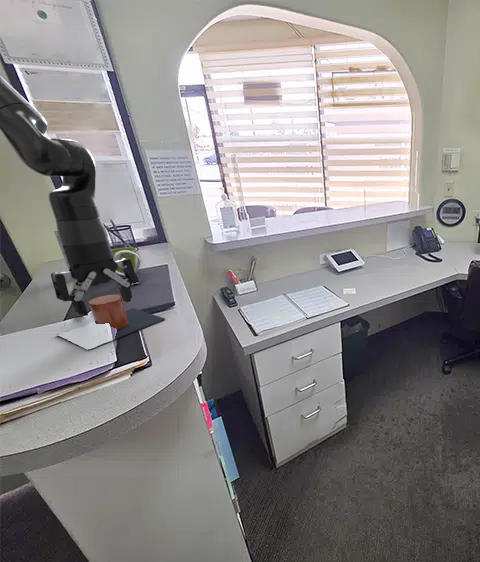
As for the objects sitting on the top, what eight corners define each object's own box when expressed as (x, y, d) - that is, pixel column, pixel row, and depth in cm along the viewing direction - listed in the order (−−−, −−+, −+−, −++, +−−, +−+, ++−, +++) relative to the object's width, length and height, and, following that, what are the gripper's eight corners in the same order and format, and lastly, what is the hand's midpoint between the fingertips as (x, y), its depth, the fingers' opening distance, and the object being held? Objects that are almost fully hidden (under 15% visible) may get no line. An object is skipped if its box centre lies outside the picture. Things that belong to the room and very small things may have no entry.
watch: (115, 283, 102) (105, 251, 98) (145, 278, 106) (137, 247, 102) (115, 288, 97) (104, 255, 94) (146, 283, 102) (137, 251, 98)
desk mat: (88, 351, 64) (87, 349, 64) (55, 335, 70) (55, 334, 70) (165, 319, 78) (165, 318, 78) (133, 309, 84) (133, 307, 83)
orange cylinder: (106, 334, 70) (96, 306, 68) (92, 328, 73) (83, 301, 70) (133, 323, 75) (126, 297, 73) (120, 318, 78) (112, 292, 75)
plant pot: (104, 276, 108) (96, 252, 105) (132, 268, 117) (126, 246, 114) (121, 279, 105) (113, 255, 102) (149, 271, 113) (143, 248, 110)
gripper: (113, 232, 74) (130, 294, 80) (31, 244, 62) (59, 316, 68) (131, 235, 71) (148, 300, 77) (49, 248, 59) (76, 324, 64)
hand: (106, 307), depth 72 cm, fingers open, 8 cm apart
